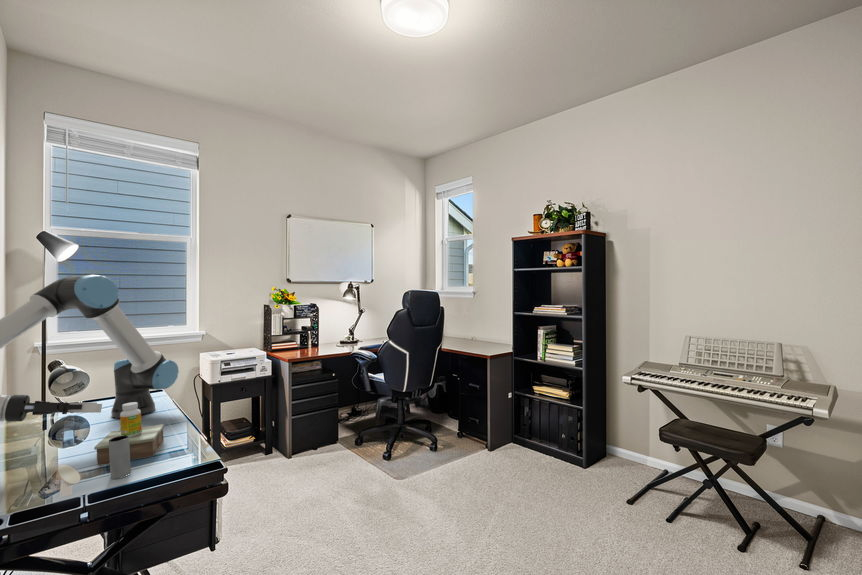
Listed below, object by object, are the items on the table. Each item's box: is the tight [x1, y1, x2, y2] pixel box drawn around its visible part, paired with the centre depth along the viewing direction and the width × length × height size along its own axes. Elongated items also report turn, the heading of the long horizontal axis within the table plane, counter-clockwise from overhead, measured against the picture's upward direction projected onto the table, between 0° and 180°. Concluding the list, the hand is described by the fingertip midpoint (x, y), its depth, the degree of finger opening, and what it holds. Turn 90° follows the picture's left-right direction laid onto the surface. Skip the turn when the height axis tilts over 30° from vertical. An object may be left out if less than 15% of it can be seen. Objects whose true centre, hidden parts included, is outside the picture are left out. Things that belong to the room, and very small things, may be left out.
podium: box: [93, 423, 165, 466], centre depth 136 cm, size 15×15×6 cm
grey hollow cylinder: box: [109, 435, 132, 480], centre depth 119 cm, size 4×4×10 cm
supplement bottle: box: [119, 402, 143, 437], centre depth 136 cm, size 5×5×10 cm
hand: (99, 407), depth 136 cm, fingers open, 13 cm apart
